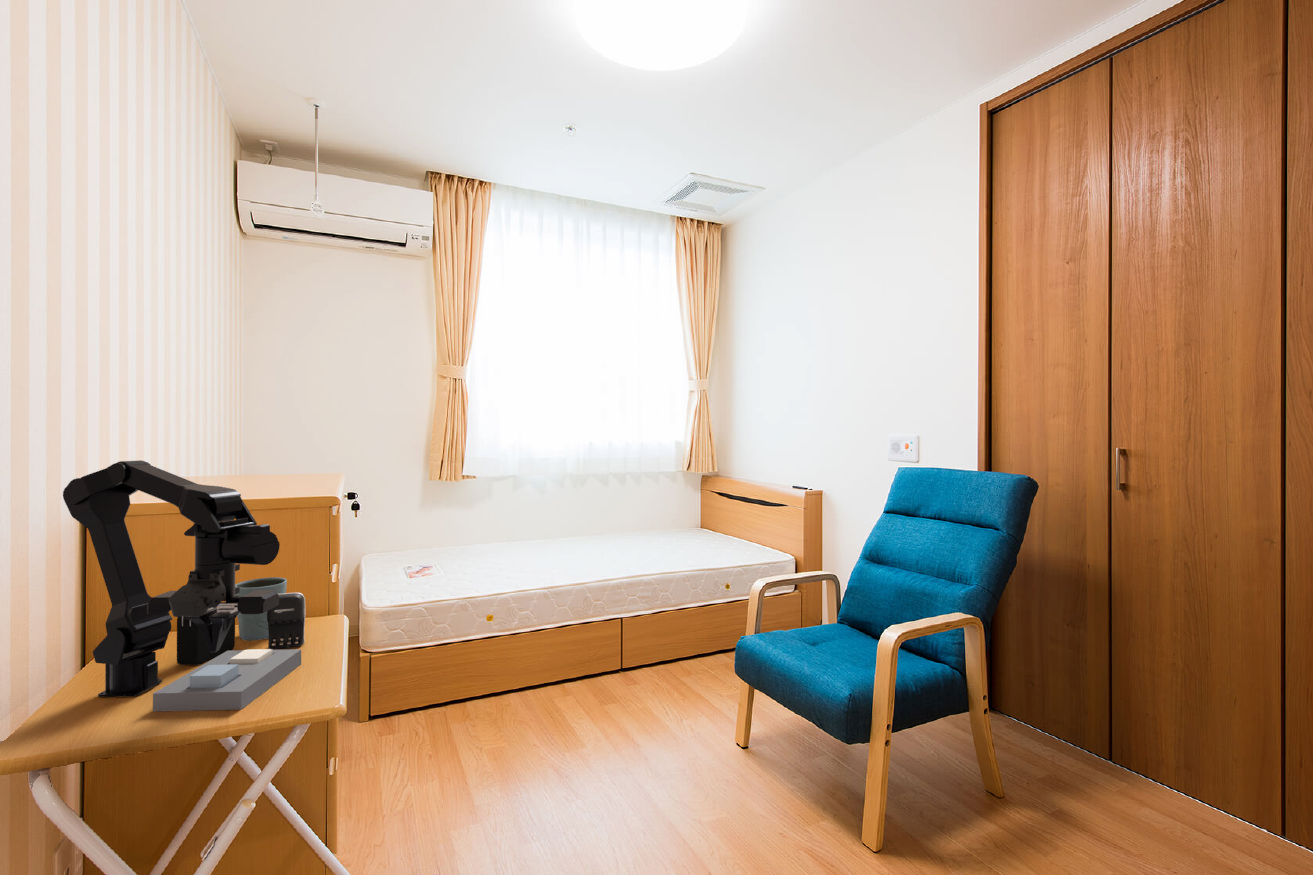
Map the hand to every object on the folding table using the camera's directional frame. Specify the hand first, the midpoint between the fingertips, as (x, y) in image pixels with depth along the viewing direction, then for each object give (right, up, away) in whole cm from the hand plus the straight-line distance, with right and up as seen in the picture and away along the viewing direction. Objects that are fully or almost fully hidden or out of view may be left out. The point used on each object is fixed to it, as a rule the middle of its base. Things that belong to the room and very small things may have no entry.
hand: (214, 651), depth 106 cm
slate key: (0, -6, 0) cm, 6 cm away
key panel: (0, -8, +5) cm, 10 cm away
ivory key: (-1, -7, +11) cm, 13 cm away
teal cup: (-14, -8, +33) cm, 37 cm away
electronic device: (-16, -8, +19) cm, 26 cm away
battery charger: (-3, -8, +25) cm, 27 cm away
